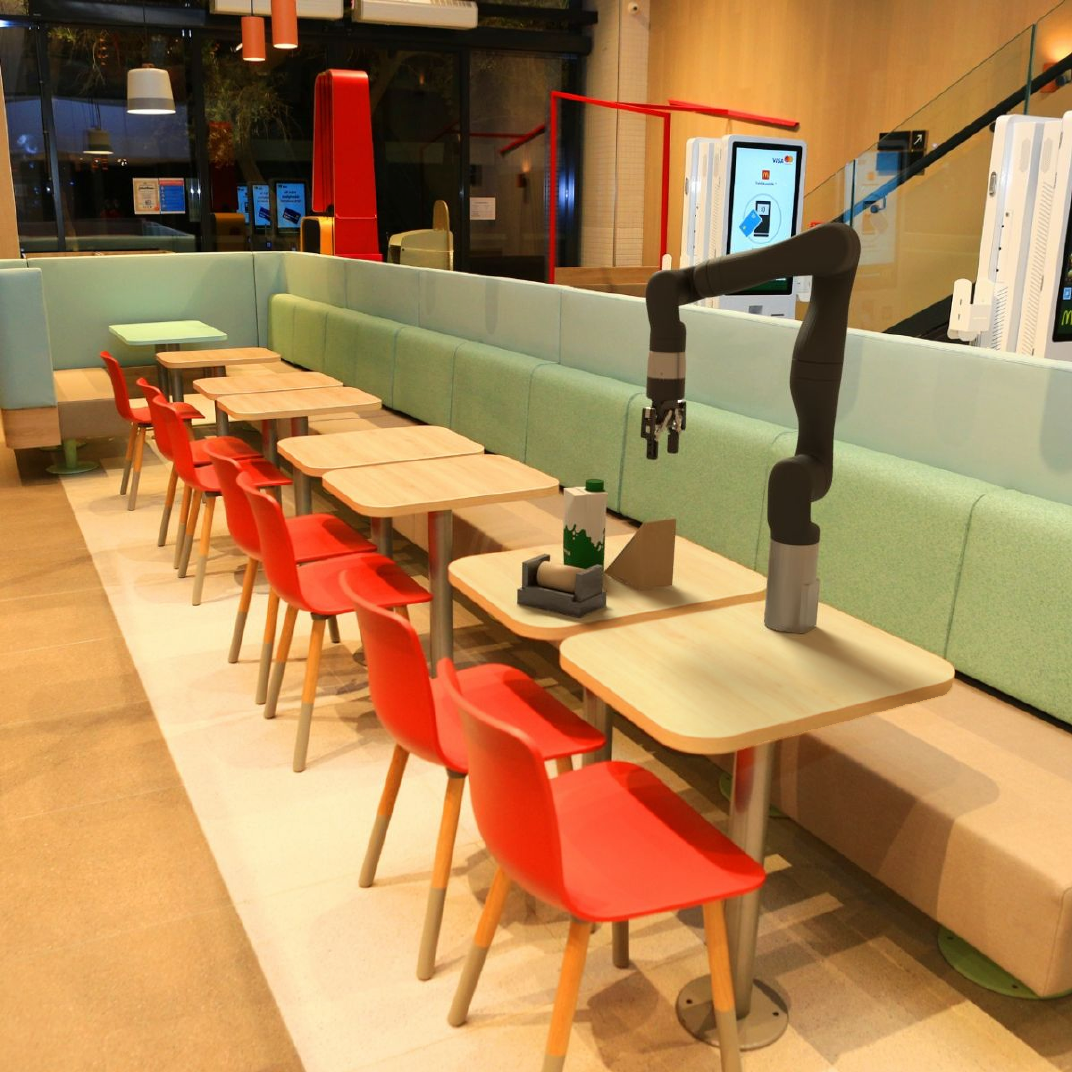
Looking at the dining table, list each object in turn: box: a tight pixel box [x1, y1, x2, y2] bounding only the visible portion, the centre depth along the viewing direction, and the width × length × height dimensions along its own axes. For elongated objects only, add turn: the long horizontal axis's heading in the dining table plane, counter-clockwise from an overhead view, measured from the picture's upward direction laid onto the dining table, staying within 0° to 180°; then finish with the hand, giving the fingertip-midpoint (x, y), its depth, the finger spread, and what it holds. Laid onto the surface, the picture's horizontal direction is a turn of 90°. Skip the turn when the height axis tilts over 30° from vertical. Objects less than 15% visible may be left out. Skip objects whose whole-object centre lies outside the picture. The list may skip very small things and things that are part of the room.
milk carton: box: [562, 478, 609, 573], centre depth 254 cm, size 9×9×20 cm
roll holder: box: [516, 553, 608, 619], centre depth 231 cm, size 15×10×8 cm, turn 55°
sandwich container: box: [604, 518, 677, 591], centre depth 248 cm, size 9×15×15 cm, turn 28°
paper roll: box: [537, 561, 585, 594], centre depth 230 cm, size 9×5×5 cm, turn 55°
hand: (662, 456), depth 227 cm, fingers open, 8 cm apart
